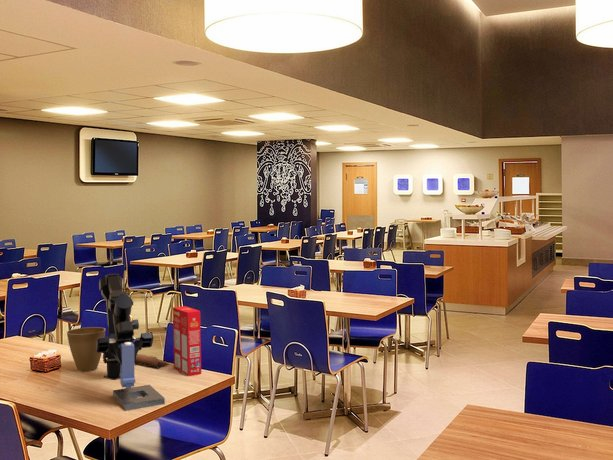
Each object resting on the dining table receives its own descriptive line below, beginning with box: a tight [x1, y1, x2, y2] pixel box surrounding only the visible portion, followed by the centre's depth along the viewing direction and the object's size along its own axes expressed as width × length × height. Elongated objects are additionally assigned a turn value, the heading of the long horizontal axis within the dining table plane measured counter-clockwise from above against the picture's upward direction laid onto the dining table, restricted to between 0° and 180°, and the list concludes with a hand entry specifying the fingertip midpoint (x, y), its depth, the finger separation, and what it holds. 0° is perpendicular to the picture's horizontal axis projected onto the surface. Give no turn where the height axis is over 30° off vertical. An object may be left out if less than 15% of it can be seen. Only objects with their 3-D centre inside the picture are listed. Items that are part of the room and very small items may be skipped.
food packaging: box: [172, 305, 202, 377], centre depth 255 cm, size 15×5×25 cm, turn 34°
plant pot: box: [66, 326, 107, 372], centre depth 260 cm, size 15×15×16 cm
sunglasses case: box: [134, 353, 171, 370], centre depth 267 cm, size 18×7×7 cm
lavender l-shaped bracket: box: [119, 342, 136, 388], centre depth 218 cm, size 10×4×15 cm, turn 23°
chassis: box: [112, 384, 166, 411], centre depth 220 cm, size 18×13×2 cm
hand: (128, 363), depth 217 cm, fingers closed on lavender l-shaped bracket, 4 cm apart
